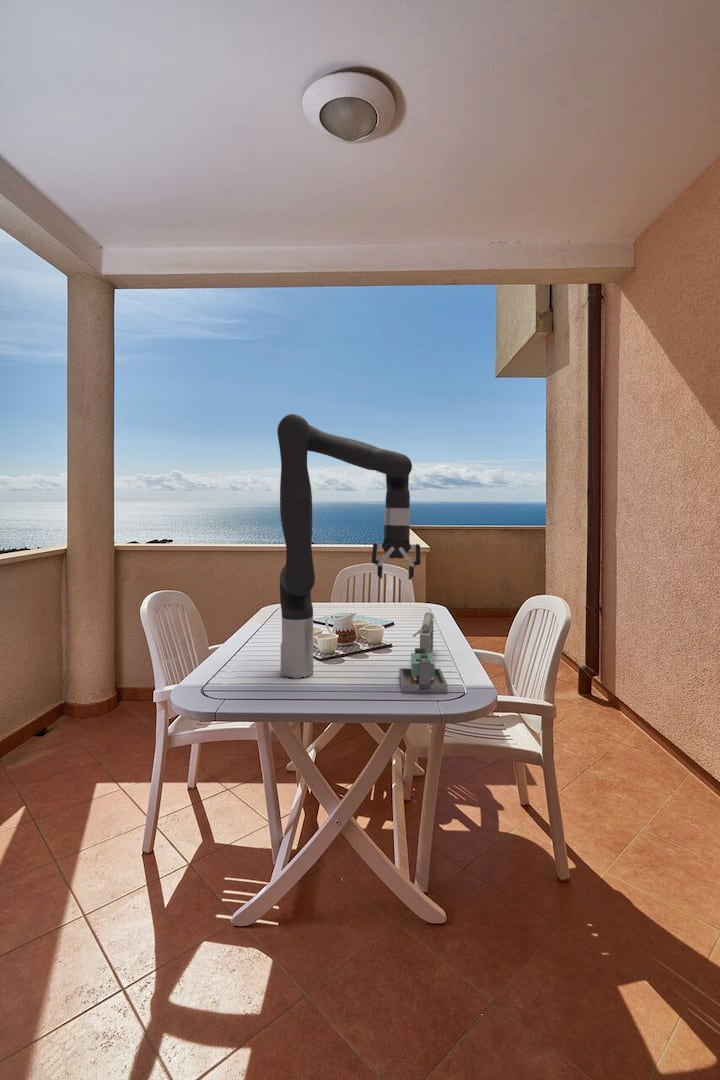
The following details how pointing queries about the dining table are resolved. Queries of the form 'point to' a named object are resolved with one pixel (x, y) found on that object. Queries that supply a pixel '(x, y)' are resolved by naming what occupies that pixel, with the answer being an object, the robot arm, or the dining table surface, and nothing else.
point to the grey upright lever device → (427, 633)
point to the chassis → (423, 679)
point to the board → (421, 657)
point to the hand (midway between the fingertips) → (395, 578)
